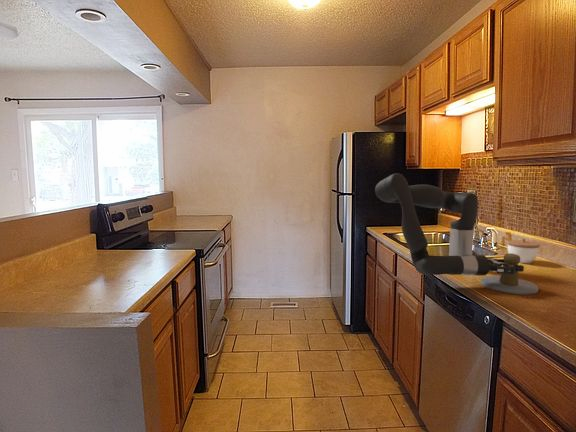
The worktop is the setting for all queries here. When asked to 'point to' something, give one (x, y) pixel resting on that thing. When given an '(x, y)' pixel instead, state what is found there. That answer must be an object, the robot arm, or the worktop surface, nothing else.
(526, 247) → the lidded bowl
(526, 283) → the slate plate
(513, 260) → the cork
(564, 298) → the worktop surface
